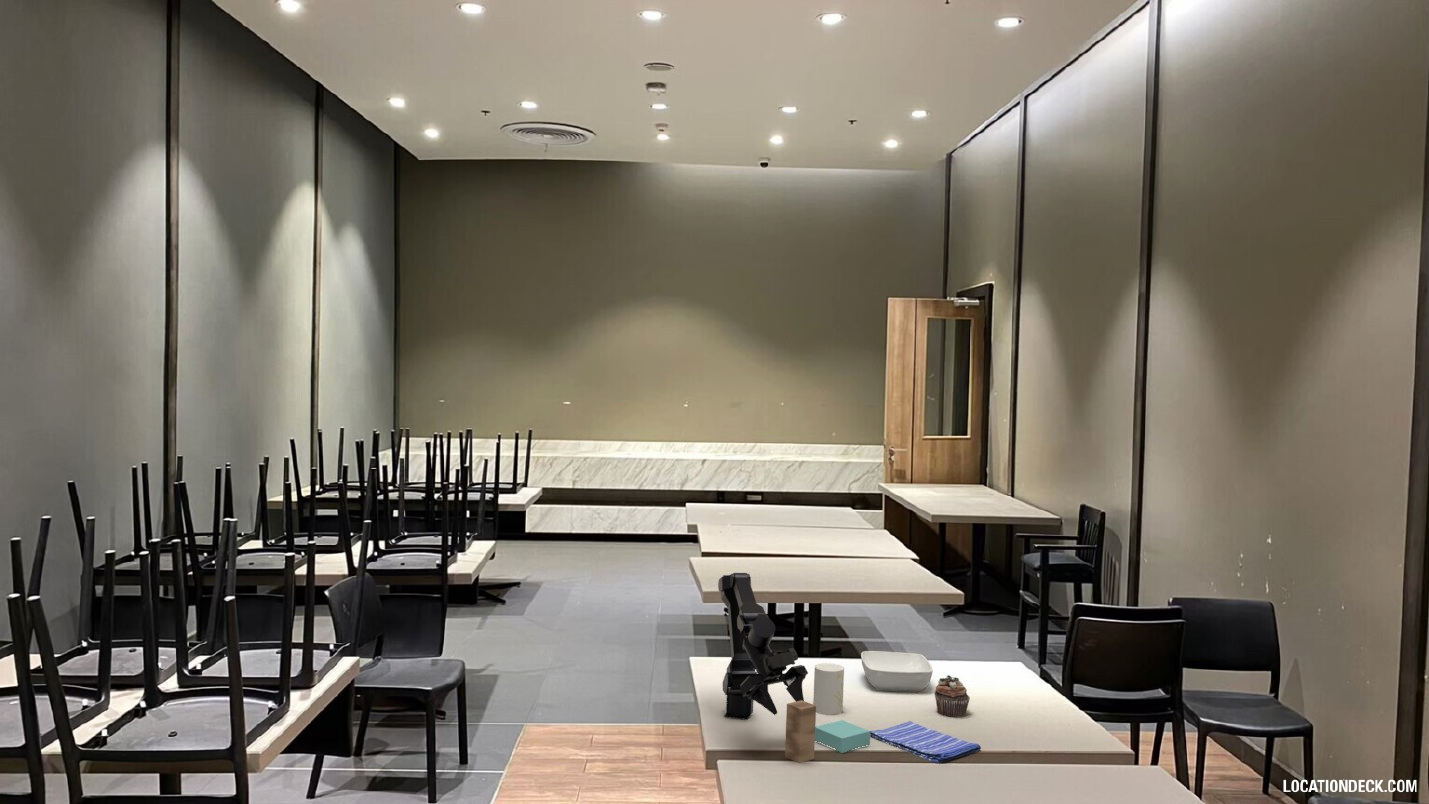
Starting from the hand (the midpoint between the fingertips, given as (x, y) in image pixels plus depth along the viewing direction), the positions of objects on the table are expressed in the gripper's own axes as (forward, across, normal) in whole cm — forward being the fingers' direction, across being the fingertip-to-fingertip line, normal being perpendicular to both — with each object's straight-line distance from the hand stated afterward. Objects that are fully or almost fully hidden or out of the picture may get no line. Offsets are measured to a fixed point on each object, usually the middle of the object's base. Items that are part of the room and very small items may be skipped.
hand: (789, 710), depth 259 cm
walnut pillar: (+10, 0, +5) cm, 11 cm away
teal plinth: (+10, +16, +6) cm, 20 cm away
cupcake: (+10, +60, +6) cm, 61 cm away
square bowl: (-9, +67, +24) cm, 72 cm away
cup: (-5, +32, +20) cm, 39 cm away
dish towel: (+18, +34, -2) cm, 39 cm away
